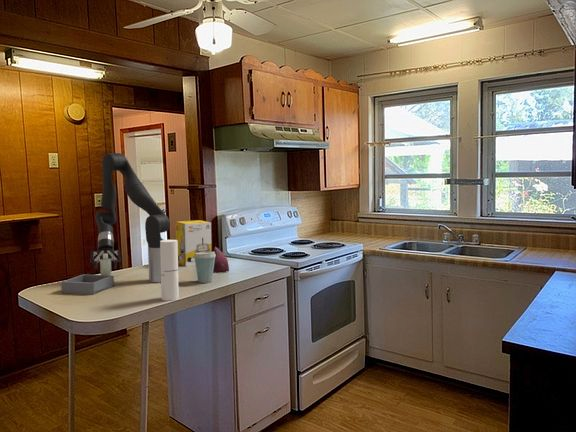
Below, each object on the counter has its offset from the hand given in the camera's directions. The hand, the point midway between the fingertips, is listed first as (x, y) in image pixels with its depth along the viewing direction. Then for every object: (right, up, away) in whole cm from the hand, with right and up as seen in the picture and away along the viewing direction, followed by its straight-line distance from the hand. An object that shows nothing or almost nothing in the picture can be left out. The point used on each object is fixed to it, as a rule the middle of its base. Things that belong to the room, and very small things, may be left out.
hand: (105, 268), depth 222 cm
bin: (-2, -8, -14) cm, 16 cm away
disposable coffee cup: (+49, -7, +1) cm, 50 cm away
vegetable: (+53, -5, +27) cm, 59 cm away
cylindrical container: (+40, -10, -30) cm, 50 cm away
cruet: (0, -7, +2) cm, 7 cm away
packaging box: (+33, -3, +49) cm, 60 cm away
